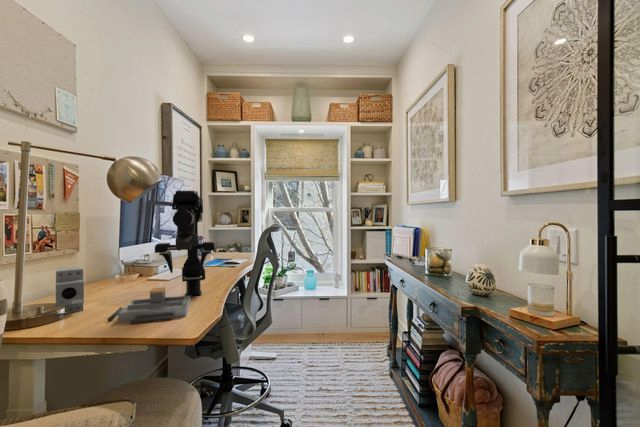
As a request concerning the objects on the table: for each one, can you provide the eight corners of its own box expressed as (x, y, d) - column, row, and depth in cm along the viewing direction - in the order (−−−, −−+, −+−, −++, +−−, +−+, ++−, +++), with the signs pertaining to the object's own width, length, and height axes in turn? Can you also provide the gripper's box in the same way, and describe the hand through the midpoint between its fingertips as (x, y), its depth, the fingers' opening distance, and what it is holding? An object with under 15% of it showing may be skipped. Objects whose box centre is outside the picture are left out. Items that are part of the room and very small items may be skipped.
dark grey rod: (119, 310, 112) (119, 307, 112) (123, 310, 112) (123, 307, 112) (107, 321, 101) (107, 317, 101) (111, 321, 101) (111, 317, 101)
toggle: (153, 301, 112) (153, 288, 112) (165, 300, 113) (165, 287, 113) (150, 305, 107) (149, 291, 107) (162, 303, 109) (162, 290, 109)
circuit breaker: (55, 319, 103) (55, 274, 103) (56, 309, 114) (56, 268, 114) (84, 314, 108) (83, 271, 108) (82, 305, 119) (82, 266, 119)
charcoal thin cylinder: (129, 324, 98) (129, 320, 98) (130, 323, 99) (130, 319, 99) (171, 320, 102) (171, 316, 102) (172, 319, 103) (172, 315, 103)
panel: (132, 308, 115) (132, 297, 115) (190, 303, 121) (190, 292, 121) (118, 322, 100) (118, 309, 100) (186, 315, 106) (185, 304, 106)
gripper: (150, 228, 97) (151, 278, 97) (214, 227, 103) (214, 274, 103) (157, 226, 108) (158, 272, 108) (214, 226, 113) (215, 268, 113)
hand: (186, 272), depth 107 cm, fingers open, 9 cm apart
